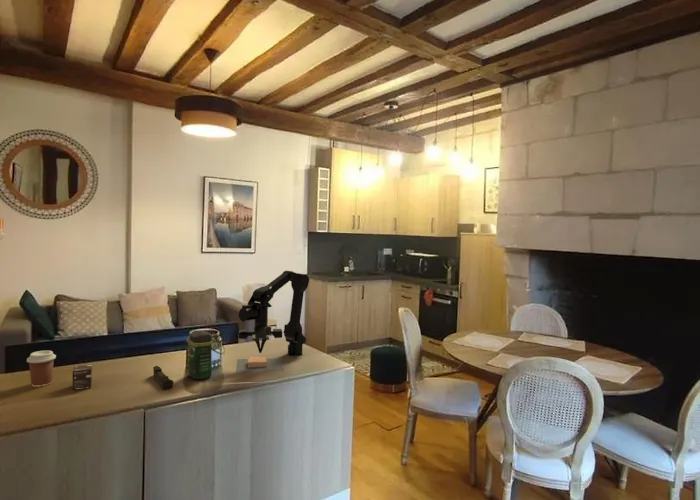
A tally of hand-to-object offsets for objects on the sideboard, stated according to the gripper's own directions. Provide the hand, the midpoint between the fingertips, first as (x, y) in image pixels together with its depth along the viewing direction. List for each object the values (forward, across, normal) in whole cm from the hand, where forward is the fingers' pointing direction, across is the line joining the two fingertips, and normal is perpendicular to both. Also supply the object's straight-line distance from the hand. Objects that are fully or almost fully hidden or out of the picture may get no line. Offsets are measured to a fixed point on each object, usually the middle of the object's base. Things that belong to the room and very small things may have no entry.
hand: (260, 352), depth 194 cm
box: (+6, -66, -17) cm, 68 cm away
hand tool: (+6, -39, -15) cm, 42 cm away
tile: (+4, +3, 0) cm, 5 cm away
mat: (+6, 0, 0) cm, 6 cm away
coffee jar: (+6, -24, -10) cm, 27 cm away
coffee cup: (+6, -81, -12) cm, 82 cm away
